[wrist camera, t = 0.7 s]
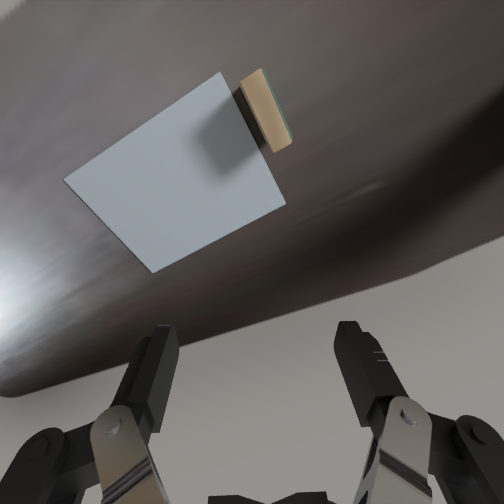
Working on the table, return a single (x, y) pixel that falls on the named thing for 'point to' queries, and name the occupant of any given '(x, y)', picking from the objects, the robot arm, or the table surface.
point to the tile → (266, 110)
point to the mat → (180, 178)
